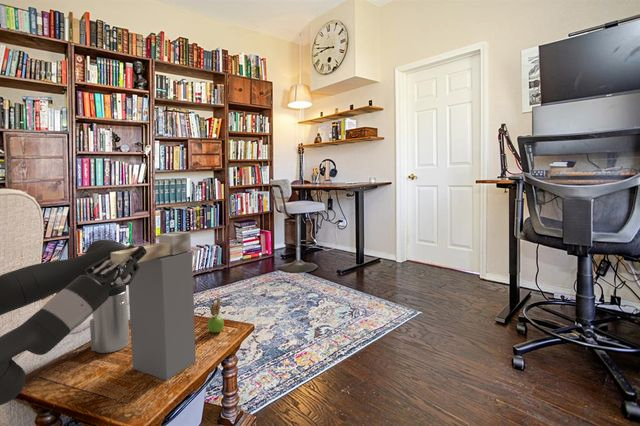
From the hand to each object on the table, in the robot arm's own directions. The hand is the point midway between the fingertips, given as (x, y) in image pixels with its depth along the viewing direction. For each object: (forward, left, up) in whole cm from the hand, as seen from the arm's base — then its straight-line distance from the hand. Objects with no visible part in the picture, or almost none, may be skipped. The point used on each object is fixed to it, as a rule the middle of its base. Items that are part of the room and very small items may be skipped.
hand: (138, 248), depth 83 cm
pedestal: (+1, +10, -35) cm, 37 cm away
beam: (+2, +3, -3) cm, 5 cm away
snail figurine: (+11, +30, -36) cm, 48 cm away
